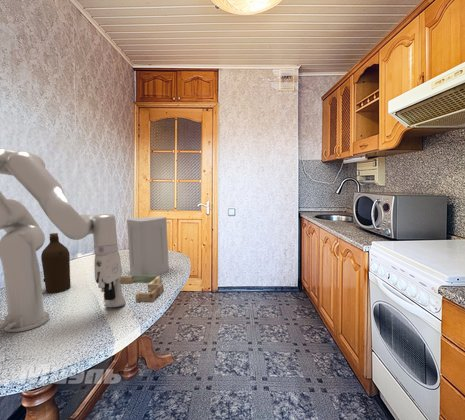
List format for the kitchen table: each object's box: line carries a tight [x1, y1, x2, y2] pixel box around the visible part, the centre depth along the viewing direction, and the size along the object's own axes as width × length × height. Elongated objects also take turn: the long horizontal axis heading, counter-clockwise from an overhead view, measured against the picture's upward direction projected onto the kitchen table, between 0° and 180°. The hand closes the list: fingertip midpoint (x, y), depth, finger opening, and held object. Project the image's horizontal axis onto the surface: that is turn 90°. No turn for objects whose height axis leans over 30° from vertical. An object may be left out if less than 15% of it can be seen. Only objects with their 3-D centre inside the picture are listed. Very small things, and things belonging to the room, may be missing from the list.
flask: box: [104, 278, 126, 308], centre depth 108 cm, size 7×7×10 cm
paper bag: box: [126, 216, 170, 275], centre depth 145 cm, size 19×15×28 cm
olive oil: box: [40, 232, 72, 294], centre depth 127 cm, size 11×11×25 cm
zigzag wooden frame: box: [100, 274, 165, 303], centre depth 123 cm, size 23×27×3 cm
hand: (110, 299), depth 104 cm, fingers closed
